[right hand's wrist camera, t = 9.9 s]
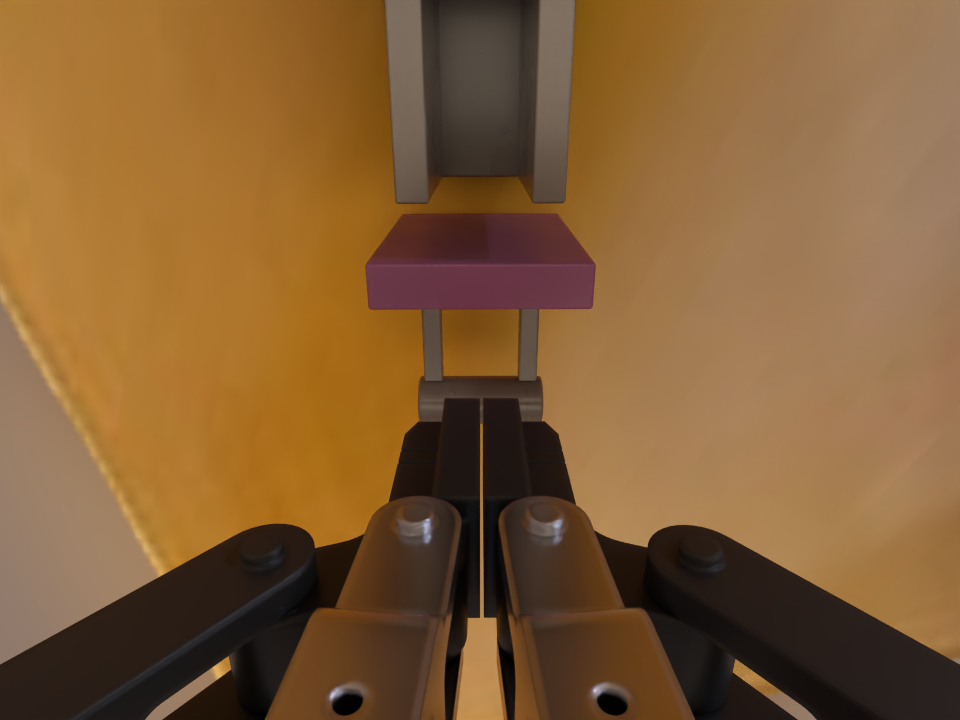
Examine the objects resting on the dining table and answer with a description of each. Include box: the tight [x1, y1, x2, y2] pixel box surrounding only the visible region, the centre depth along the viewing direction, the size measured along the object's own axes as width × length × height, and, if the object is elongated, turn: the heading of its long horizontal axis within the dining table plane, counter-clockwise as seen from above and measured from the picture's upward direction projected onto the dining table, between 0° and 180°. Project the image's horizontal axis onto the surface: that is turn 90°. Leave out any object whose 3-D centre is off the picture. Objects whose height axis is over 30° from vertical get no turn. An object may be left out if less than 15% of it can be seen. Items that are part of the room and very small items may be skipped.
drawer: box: [365, 0, 596, 424], centre depth 16 cm, size 23×6×8 cm, turn 0°
